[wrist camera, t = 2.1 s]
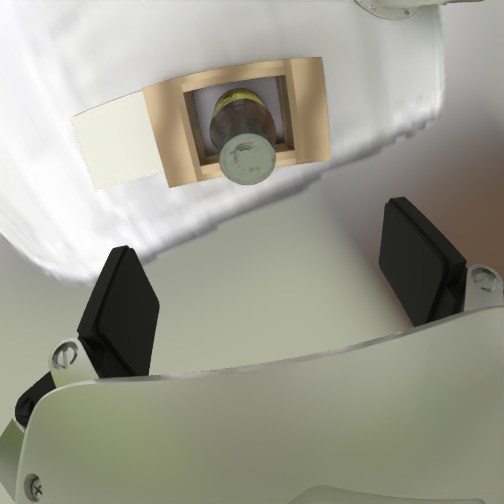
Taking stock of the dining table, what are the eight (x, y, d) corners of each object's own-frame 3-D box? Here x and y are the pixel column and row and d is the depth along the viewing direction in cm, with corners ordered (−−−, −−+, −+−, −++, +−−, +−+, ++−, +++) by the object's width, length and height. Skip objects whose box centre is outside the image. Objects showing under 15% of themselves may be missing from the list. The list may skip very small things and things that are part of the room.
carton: (305, 58, 31) (321, 57, 25) (315, 144, 39) (330, 160, 33) (156, 84, 32) (141, 88, 26) (177, 168, 39) (169, 188, 34)
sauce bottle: (223, 82, 33) (218, 96, 17) (269, 95, 34) (308, 124, 18) (208, 127, 36) (193, 184, 20) (253, 139, 38) (275, 205, 22)
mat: (148, 88, 32) (146, 89, 31) (169, 168, 39) (168, 170, 38) (73, 116, 32) (70, 118, 31) (98, 188, 39) (95, 190, 39)
